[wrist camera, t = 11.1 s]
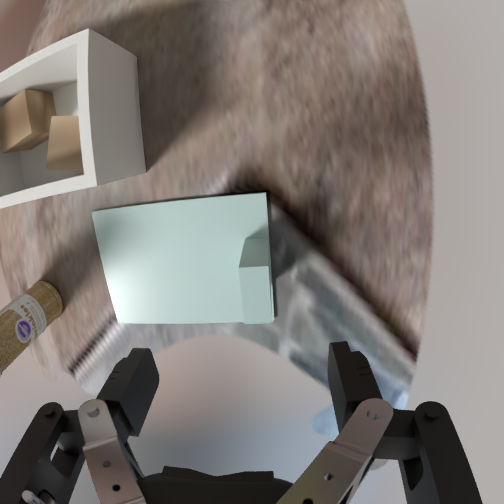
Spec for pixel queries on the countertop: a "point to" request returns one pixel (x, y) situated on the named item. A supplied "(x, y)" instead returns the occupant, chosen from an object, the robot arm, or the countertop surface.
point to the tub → (86, 108)
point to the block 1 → (26, 120)
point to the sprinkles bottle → (27, 320)
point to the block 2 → (64, 145)
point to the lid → (188, 260)
